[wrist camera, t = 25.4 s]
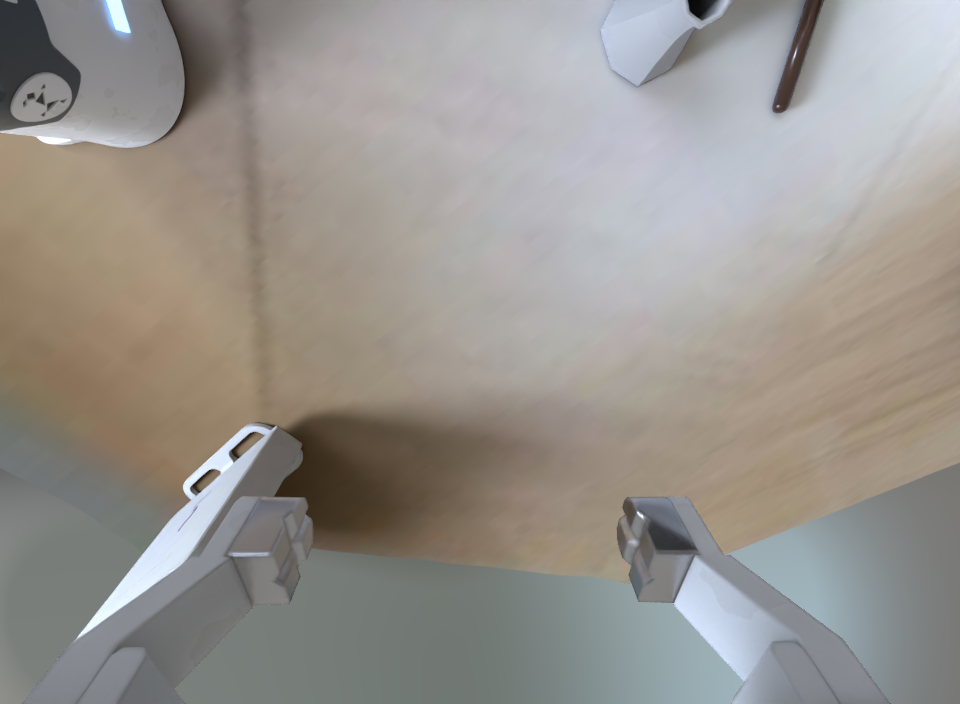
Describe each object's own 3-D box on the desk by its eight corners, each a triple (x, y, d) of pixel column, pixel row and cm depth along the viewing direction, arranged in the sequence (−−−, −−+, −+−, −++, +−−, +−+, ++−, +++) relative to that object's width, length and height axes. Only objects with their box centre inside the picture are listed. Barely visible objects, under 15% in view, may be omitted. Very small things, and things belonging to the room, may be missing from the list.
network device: (272, 401, 50) (161, 546, 32) (328, 441, 53) (256, 593, 35) (165, 498, 57) (29, 659, 40) (220, 528, 60) (116, 689, 43)
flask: (633, 104, 35) (687, 93, 26) (583, 30, 33) (625, -9, 24) (706, 32, 33) (792, -7, 24) (659, -54, 30) (735, -132, 22)
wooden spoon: (797, 114, 36) (807, 113, 35) (749, 112, 36) (758, 112, 35) (874, -110, 29) (890, -119, 28) (816, -112, 29) (829, -122, 28)
